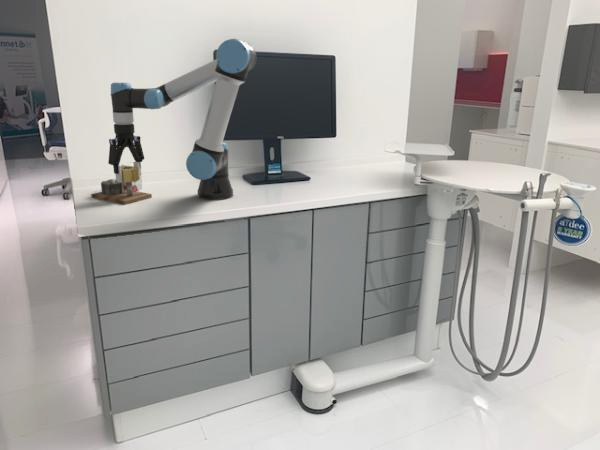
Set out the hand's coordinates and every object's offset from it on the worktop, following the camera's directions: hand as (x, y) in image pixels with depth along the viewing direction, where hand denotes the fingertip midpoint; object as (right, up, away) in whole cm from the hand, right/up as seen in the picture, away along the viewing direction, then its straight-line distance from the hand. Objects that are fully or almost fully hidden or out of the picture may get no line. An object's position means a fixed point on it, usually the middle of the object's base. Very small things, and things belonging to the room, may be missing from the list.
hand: (128, 179), depth 195 cm
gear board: (-5, -7, +5) cm, 10 cm away
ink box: (-4, -3, +18) cm, 19 cm away
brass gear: (0, 0, 0) cm, 0 cm away
